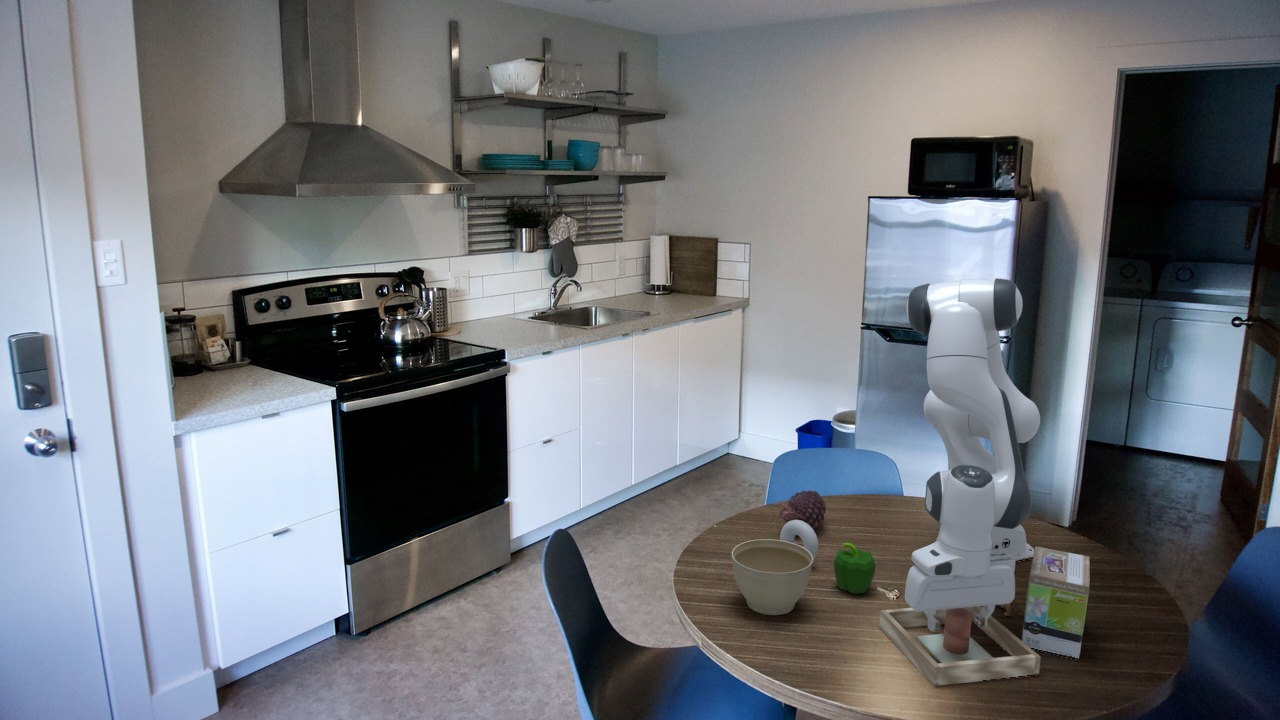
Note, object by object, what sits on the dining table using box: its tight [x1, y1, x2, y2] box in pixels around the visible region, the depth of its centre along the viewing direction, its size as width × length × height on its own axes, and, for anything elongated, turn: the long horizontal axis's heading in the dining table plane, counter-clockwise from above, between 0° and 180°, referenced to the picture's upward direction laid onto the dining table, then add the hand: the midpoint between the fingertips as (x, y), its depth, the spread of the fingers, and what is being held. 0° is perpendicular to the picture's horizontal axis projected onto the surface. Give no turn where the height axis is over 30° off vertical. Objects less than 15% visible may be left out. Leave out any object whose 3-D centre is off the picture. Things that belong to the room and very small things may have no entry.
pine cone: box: [779, 490, 827, 531], centre depth 208 cm, size 18×10×10 cm, turn 141°
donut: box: [779, 520, 819, 560], centre depth 189 cm, size 10×4×10 cm, turn 41°
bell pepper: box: [833, 542, 876, 595], centre depth 177 cm, size 8×8×10 cm
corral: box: [879, 606, 1042, 687], centre depth 154 cm, size 20×20×4 cm
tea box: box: [1021, 546, 1091, 659], centre depth 158 cm, size 15×10×15 cm, turn 152°
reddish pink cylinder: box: [943, 608, 972, 654], centre depth 153 cm, size 4×4×7 cm
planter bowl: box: [731, 538, 814, 616], centre depth 169 cm, size 16×16×11 cm
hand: (957, 627), depth 153 cm, fingers open, 8 cm apart
